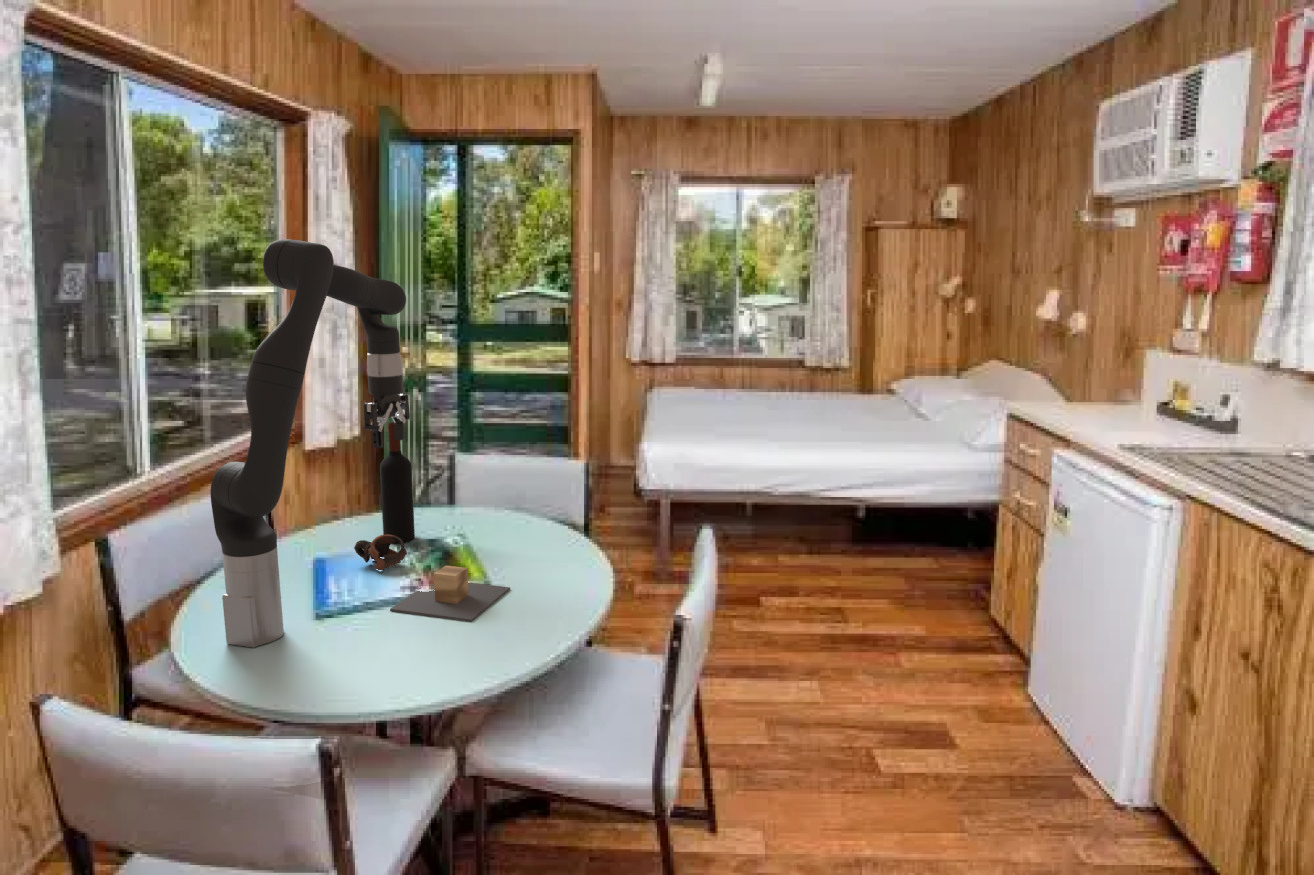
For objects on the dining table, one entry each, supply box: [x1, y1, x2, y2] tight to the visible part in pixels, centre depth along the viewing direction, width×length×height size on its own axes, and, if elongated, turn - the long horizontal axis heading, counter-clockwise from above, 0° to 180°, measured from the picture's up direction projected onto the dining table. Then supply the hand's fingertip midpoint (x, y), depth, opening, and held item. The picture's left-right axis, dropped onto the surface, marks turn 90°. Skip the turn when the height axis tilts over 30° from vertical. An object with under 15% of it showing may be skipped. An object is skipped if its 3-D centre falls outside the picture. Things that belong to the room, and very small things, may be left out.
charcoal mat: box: [389, 582, 511, 622], centre depth 187 cm, size 18×18×1 cm
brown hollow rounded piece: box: [353, 534, 408, 571], centre depth 206 cm, size 12×10×8 cm
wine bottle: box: [379, 420, 416, 545], centre depth 222 cm, size 8×8×30 cm
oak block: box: [433, 565, 469, 604], centre depth 186 cm, size 5×5×6 cm
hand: (389, 443), depth 204 cm, fingers open, 8 cm apart
